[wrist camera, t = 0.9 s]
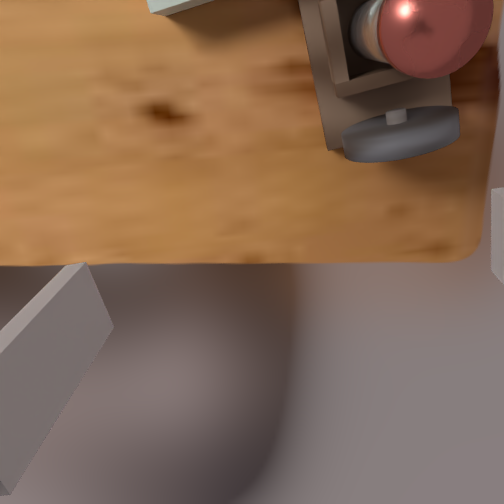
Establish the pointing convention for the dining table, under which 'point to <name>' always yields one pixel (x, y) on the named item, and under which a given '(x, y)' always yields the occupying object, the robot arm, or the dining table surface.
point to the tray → (172, 6)
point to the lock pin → (420, 33)
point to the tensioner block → (372, 94)
